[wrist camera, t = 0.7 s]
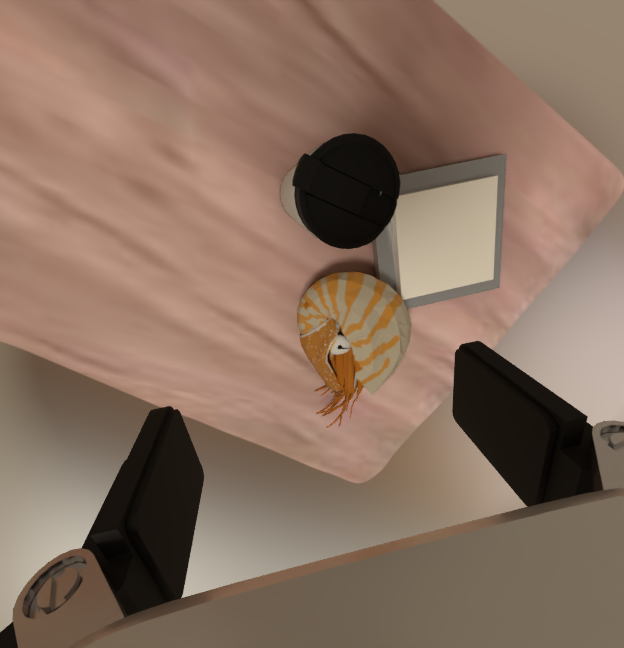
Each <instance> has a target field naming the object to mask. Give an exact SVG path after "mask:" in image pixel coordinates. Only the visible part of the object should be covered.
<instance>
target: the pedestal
mask: <svg viewBox="0 0 624 648" xmlns="http://www.w3.org/2000/svg"><path fill="white" fill-rule="evenodd" d="M505 171H506V154H501V155H496V156H491V157H486V158H481V159H476V160H471V161H466V162H461V163H456V164H451V165H446V166H441V167H436V168H431V169H427V170H422V171H417V172H412V173H407V174H402V175H399V176H400V183H401V184H400V191H399V198H398V199H397V207H396V209H395V212H394V215H393V217H392V219H391V220H390V222H389V224H388V225H387V226H386V227H385V229H384V230H383V231H382V232H381V234H380V235H379V236H378V237H377V238H376V239H375V240H373V241H372V243H373V252H374V262H375V271H376V278H377V279H378V280H380V281H382V282H384V283H386V284H388V285H389V286H390V287H391V288H392V289H394V290H395V291H396V292H397V293H398V294H399V296H400V297H401V299H402V300H403V301H404V304H405V306H406V308H407V309H409V308H414V307H418V306H422V305H427V304H431V303H435V302H440V301H444V300H448V299H453V298H457V297H461V296H466V295H470V294H474V293H479V292H483V291H487V290H492V289H496V288H499V286H500V267H501V247H502V228H503V209H504V190H505Z"/></svg>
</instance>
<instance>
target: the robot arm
mask: <svg viewBox="0 0 624 648" xmlns="http://www.w3.org/2000/svg"><path fill="white" fill-rule="evenodd" d="M453 417H454V419H455V421H456V422H457V424H458V425H459V426H460V427H461V428H462V430H463V431H464V432H465V433H466V434H467V436H468V437H469V438H470V439H471V440H472V442H473V443H474V444H475V445H476V446H477V447H478V449H479V450H480V451H481V452H482V453H483V454H484V456H485V457H486V458H487V459H488V461H489V462H490V463H491V464H492V465H493V466H494V468H495V469H496V470H497V471H498V473H499V474H500V475H501V476H502V477H503V478H504V480H505V481H506V482H507V483H508V484H509V486H510V487H511V488H512V489H513V490H514V492H515V493H516V494H517V495H518V496H519V498H520V499H521V500H522V501H523V502H524V503H525V505H526V506H528V507H525V508H522V509H518V510H514V511H510V512H506V513H502V514H498V515H494V516H490V517H486V518H482V519H478V520H474V521H470V522H466V523H463V524H458V525H454V526H451V527H447V528H443V529H439V530H435V531H431V532H428V533H423V534H419V535H415V536H412V537H408V538H404V539H400V540H396V541H392V542H389V543H385V544H381V545H377V546H373V547H369V548H365V549H362V550H358V551H354V552H350V553H346V554H342V555H339V556H335V557H331V558H327V559H324V560H320V561H316V562H313V563H308V564H305V565H301V566H297V567H293V568H290V569H286V570H282V571H279V572H275V573H271V574H267V575H263V576H260V577H256V578H252V579H248V580H245V581H241V582H237V583H233V584H230V585H226V586H223V587H219V588H216V589H212V590H209V591H206V592H202V593H198V594H195V595H191V596H188V597H185V598H181V597H182V594H183V589H184V585H185V579H186V574H187V568H188V563H189V558H190V552H191V547H192V541H193V535H194V530H195V525H196V520H197V514H198V509H199V503H200V498H201V492H202V487H203V481H204V473H203V469H202V466H201V464H200V461H199V459H198V456H197V454H196V451H195V449H194V446H193V443H192V441H191V438H190V436H189V433H188V431H187V428H186V426H185V423H184V421H183V418H182V416H181V413H180V411H179V410H178V409H176V410H174V409H173V408H172V407H171V406H168V407H163V408H158V409H154V410H151V411H150V412H149V414H148V416H147V418H146V421H145V423H144V425H143V427H142V429H141V431H140V433H139V435H138V437H137V439H136V442H135V443H134V446H133V448H132V450H131V452H130V454H129V456H128V458H127V460H125V462H124V463H123V465H122V466H121V468H120V470H119V473H118V474H117V477H116V479H115V481H114V483H113V485H112V487H111V489H110V491H109V493H108V495H107V497H106V499H105V501H104V503H103V505H102V507H101V509H100V511H99V513H98V515H97V518H96V520H95V522H94V524H93V526H92V528H91V530H90V532H89V534H88V536H87V538H86V540H85V542H84V544H83V546H82V548H81V549H74V550H70V551H68V552H66V553H63V554H61V555H59V556H58V557H56V558H54V559H53V560H51V561H50V562H48V563H47V564H46V565H45V566H44V567H42V568H41V569H40V570H39V571H38V572H37V573H36V574H35V575H34V576H33V577H32V578H31V580H30V581H29V582H28V583H27V584H26V585H25V587H24V588H23V590H22V592H21V593H20V595H19V596H18V598H17V601H16V603H15V606H14V608H13V622H12V623H11V624H10V625H9V626H7V627H6V628H5V629H4V630H3V631H1V632H0V648H624V422H619V421H603V422H600V423H597V424H596V425H595V426H594V427H593V426H591V425H590V424H589V423H587V422H586V421H587V416H586V415H584V414H583V413H581V412H580V411H579V410H577V409H576V408H574V407H573V406H572V405H570V404H569V403H567V402H566V401H564V400H563V399H562V398H560V397H559V396H557V395H556V394H554V393H553V392H551V391H550V390H549V389H547V388H546V387H544V386H543V385H542V384H540V383H539V382H537V381H536V380H534V379H533V378H532V377H530V376H529V375H527V374H526V373H525V372H523V371H522V370H520V369H519V368H517V367H516V366H515V365H513V364H512V363H510V362H509V361H507V360H506V359H504V358H503V357H502V356H500V355H499V354H497V353H496V352H494V351H493V350H492V349H490V348H489V347H487V346H486V345H485V344H483V343H482V342H480V341H475V342H470V343H465V344H462V345H460V347H459V349H457V350H456V352H455V367H454V389H453Z"/></svg>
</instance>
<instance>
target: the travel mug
mask: <svg viewBox="0 0 624 648" xmlns="http://www.w3.org/2000/svg"><path fill="white" fill-rule="evenodd" d="M400 184H401V183H400V176H399V171H398V169H397V166H396V163H395V161H394V159H393V157H392V156H391V154H390V152H389V151H388V150H387V149H386V148H385V147H384V146H383V145H382V144H381V143H379V142H378V141H377V140H375V139H373V138H371V137H369V136H366V135H362V134H356V133H353V134H343V135H340V136H337V137H334V138H332V139H330V140H329V141H327V142H325V143H324V144H323V145H321V146H320V147H318V148H316V149H315V150H314V151H312V152H311V153H310V154H309V155H308V154H303V156H302V157H301V158H300V160H299V162H298V164H297V165H296V166H294V167H293V168H292V169H291V170H290V171H289V172H288V173H287V174H286V175H285V177H284V179H283V181H282V183H281V187H280V199H281V203H282V206H283V208H284V210H285V212H286V213H287V214H288V215H289V216H290V217H291V218H292V219H294V220H295V221H296V222H297V223H299V224H300V225H301V226H302V227H304V228H305V229H306V230H307V231H309V232H310V233H311V234H312V235H314V236H315V237H317V238H318V239H320V240H321V241H323V242H324V243H326V244H328V245H330V246H333V247H337V248H342V249H352V248H358V247H361V246H364V245H366V244H368V243H370V242H372V241H373V240H375V239H376V238H377V237H378V236H379V235H380V234H381V232H382V231H383V230H384V229H385V227H386V226H387V225H388V224H389V222H390V220H391V219H392V217H393V215H394V212H395V209H396V207H397V199H398V198H399V191H400Z"/></svg>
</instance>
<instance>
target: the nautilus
mask: <svg viewBox="0 0 624 648" xmlns="http://www.w3.org/2000/svg"><path fill="white" fill-rule="evenodd" d="M297 324H298V327H299V330H300V332H301V333H300V341H301V346H302V348H303V350H304V351H305V353H306V355H307V357H308V359H309V360H310V362H311V363H312V364H313V366H314V367H315V369H316V371H317V372H318V373H319V375H320V376H321V378H322V379H323V380H324V382H325V384H326V386H325V387H327V386H328V387H329V389H328V390H327V391H329V390H330V389H332V390H334V391H335V396H334V399H335V397H336V396H337V397H336V399H335V400H334V399H333V400H334V401H333V402H332V403H331V404H329V405H328V406H327V407H326V408H324V409H323V410H321V411H320V412H317V414H319V413H324V412H325V413H324V414H325V415H327V414H329V413H331V412H333V411H334V410H336V409H337V408H339V407H341V406H344V407H343V409H342V412H341V414H340V415H339V416H338V417H337V419H336V420H335V421H334V422H333V423H332V424H334V423H335V422H336V421H337V420H338V419H339V417H340V416H341V417H340V424H341V419H342V414H343V413H344V411H345V409H346V404H347V402H348V403H349V401H350V400H351V398H352V397H353V393H355V392H356V388H357V387H358V390H357V397H356V399H357V398H358V395H359V394H360V392H361V390H362V388H363V387H365V388H366V389H367V390H368V391H369V392H371V393H372V394H373V395H374V394H375V392H376V391H377V390H378V389H379V388H380V387H381V386H382V385H383V384H384V383H385V382H386V381H387V379H388V378H389V377H390V376H391V375H392V374H393V373H394V372H395V370H396V369H397V367H398V366H399V364H400V362H401V361H402V359H403V358H404V356H405V352H406V350H407V347H408V344H409V342H410V333H411V322H410V317H409V313H408V311H407V308H406V306H405V304H404V301H403V300H402V299H401V297H400V296H399V294H398V293H397V292H396V291H395V290H394V289H392V288H391V287H390V286H389V285H388V284H386V283H384V282H382V281H380V280H378V279H377V278H375V277H373V276H371V275H368V274H364V273H360V272H343V273H334V274H331V275H328V276H325V277H324V278H322V279H320V280H318V281H317V282H315V283H314V284H313V285H312V286H311V287H310V288H309V289H308V290H307V291H306V293H305V294H304V296H303V297H302V299H301V302H300V304H299V306H298V309H297ZM325 387H322V388H320V389H318V390H321V389H323V388H325ZM318 390H315V391H318ZM327 391H326V392H327ZM334 391H333V392H334ZM336 391H338V393H337V395H336ZM344 391H345V392H344ZM326 392H324V393H323V394H322V395H324V394H325V393H326ZM333 392H331V393H333ZM342 392H343V394H342V395H341V393H342ZM339 394H340V395H339ZM344 395H345V400H344V401H343V403H342V404H340V405H339V406H337V407H335V408H333V407H334V406H335V405H336V404H337V403H338V402H339V401H340V400H341V399H342V398H343V396H344ZM356 399H355V400H356ZM355 400H354V402H355ZM354 402H353V404H354ZM332 404H333V405H332ZM353 404H352V407H353ZM331 405H332V406H331ZM329 406H331V407H330V408H329V409H328V410H327V411H324V410H325V409H327V408H328V407H329ZM347 406H348V404H347ZM352 407H351V412H352ZM322 411H323V412H322ZM329 411H330V412H329ZM346 411H347V409H346ZM327 412H328V413H327ZM325 415H323V416H325ZM350 417H351V415H350ZM332 424H330V425H329V426H327V427H330V426H331V425H332ZM340 424H339V426H340ZM327 427H326V428H327Z"/></svg>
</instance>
